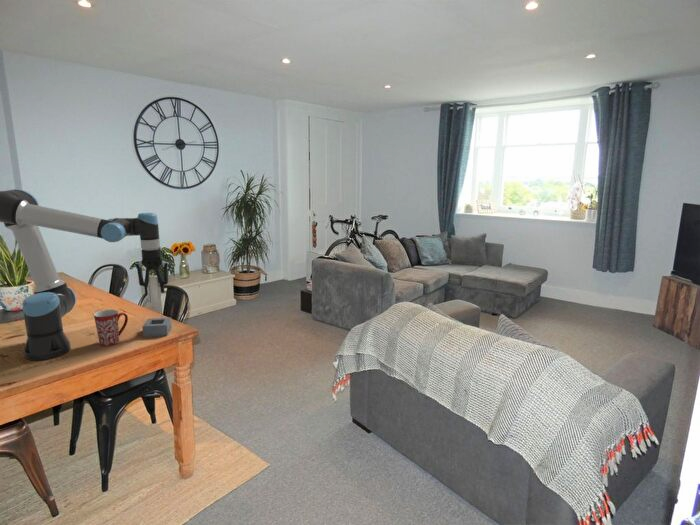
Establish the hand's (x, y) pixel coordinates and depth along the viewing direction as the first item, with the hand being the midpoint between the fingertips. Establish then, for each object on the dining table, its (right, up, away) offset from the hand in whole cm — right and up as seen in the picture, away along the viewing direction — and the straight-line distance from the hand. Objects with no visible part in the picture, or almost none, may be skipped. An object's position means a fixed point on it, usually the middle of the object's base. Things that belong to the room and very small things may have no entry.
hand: (155, 299), depth 188 cm
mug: (-14, -17, -8) cm, 24 cm away
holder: (0, -15, +3) cm, 15 cm away
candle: (0, -3, +1) cm, 3 cm away
